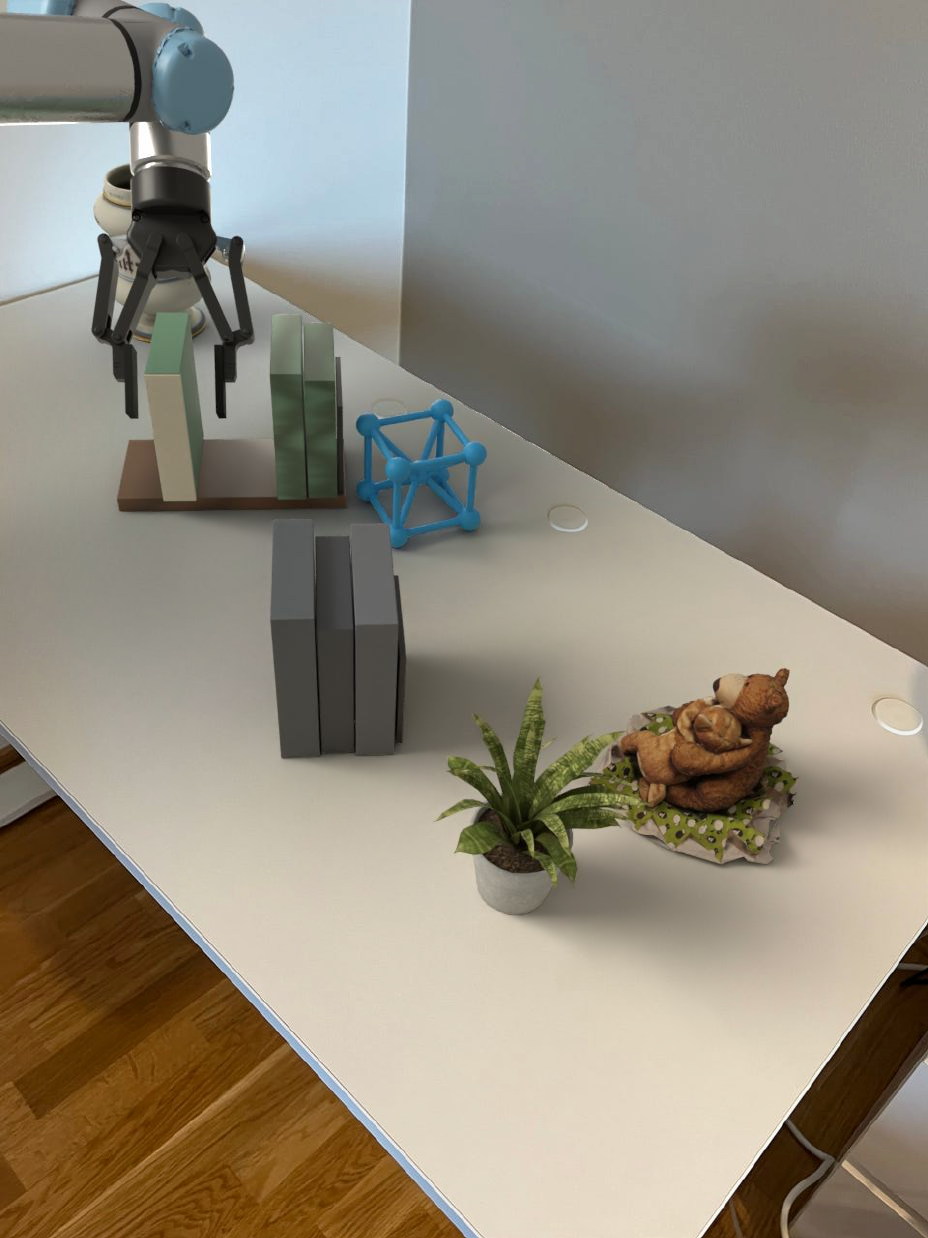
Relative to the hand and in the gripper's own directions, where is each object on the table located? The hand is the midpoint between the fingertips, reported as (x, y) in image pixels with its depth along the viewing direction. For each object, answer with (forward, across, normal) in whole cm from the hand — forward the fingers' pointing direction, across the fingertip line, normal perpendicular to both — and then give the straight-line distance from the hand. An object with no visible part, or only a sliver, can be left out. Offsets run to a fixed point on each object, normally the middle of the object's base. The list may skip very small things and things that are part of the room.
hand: (176, 415), depth 102 cm
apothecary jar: (-17, +5, -29) cm, 34 cm away
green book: (+4, 0, -5) cm, 6 cm away
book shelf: (+5, -5, -6) cm, 9 cm away
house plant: (+41, -26, +29) cm, 57 cm away
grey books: (+27, -15, +16) cm, 35 cm away
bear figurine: (+34, -42, +23) cm, 59 cm away
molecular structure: (+10, -23, -2) cm, 25 cm away
